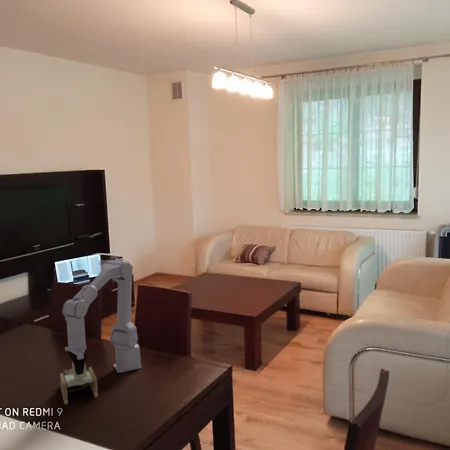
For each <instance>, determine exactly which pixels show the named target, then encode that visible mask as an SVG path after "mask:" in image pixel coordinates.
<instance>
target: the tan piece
mask: <svg viewBox="0 0 450 450" xmlns="http://www.w3.org/2000/svg"><path fill="white" fill-rule="evenodd" d="M88 371H89V372H90V374H91V376H92V379H93V382H89V386H90V389H91V391H92V393H93V396H94V398H98V397H99V393H98V389H99V388H98V378H97V376H96V374H95V373H94V370H93V368H92V366H90V367H88ZM59 381H60V382H59V383H60V392H61V396H62V399H63V403H64V405H68V404H69V401H68V387H67V385H66V382H65V379H64V375H63V372H61V373H59Z"/></svg>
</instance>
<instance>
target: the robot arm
mask: <svg viewBox="0 0 450 450" xmlns="http://www.w3.org/2000/svg"><path fill="white" fill-rule="evenodd" d="M112 279H113V280H114V281H115V282H116V283H117V305H116V307H117V308H116V323H114V324H113V325H112V326H111V333H110V336H109V340H110V343H111V344H113V347H114V349H115V363H114V364H113V367H114V368H115V371H116V372H117V373H119V374H120V373H124V372H128V371H134V370H138V369H142V364H141V363H142V362H141V361H142V360H141V349H140V345H139V343H138V340H139V337H138V336H139V335H138V332H137V327H136V325H135V324H133V322H131V321H132V292H133V291H132V288H133V287H132V286H133V284H132V283H133V265H132V264H131V263H130V262H129V261H122V260H121V261H119V260H111V259H107V260H105V262H104V263H103V264H102V265H101V270H100V272H99V273H98V274H97V275H96V277H95V278H94V279H93V281H91V283H90V284H85V285H83V286H82V287H81V289H80V291H78V292H77V293H76V294H75V296H73V298H72V299H67V300H66V301H65V302H64V303H63V306H62V309H61V313H62V314H63V316H64V319H65V322H66V328H67V330H66V332H67V344H68V345H67V346H65V347H64V350H65V352H67V353H68V354H69V357H70V360H71V362H72V361H73V363H74V367H75V371H76V374H77V375H80V374H83V371H84V365H85V363H86V361H87V359H88V356H89V355H88V353H85V351H86V350H87V343H86V329H85V316H86V314H87V313H88V310H89V307H90V305H91V304H92V302H94V300H95V299H96V298H97V297H98V291H99V290H101V288H102V287H103V286H104V285H106V284H107V283H108V282H109V281H110V280H112Z"/></svg>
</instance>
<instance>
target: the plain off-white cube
mask: <svg viewBox="0 0 450 450" xmlns="http://www.w3.org/2000/svg"><path fill="white" fill-rule="evenodd" d="M71 364H72V368H73V376H74V379H79V378H84V377H87V375H86V371H87V363H86V362H85V365H84V371H83V374H80V375H77V374H76V371H75V367H74V363H73V361H72V360H71Z"/></svg>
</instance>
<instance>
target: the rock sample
mask: <svg viewBox="0 0 450 450" xmlns="http://www.w3.org/2000/svg"><path fill="white" fill-rule="evenodd" d="M62 373H63V375H69V374H73V367H72V368H70V369H64V371H62ZM87 384H88V383H84V384H80V385H76V386H77V387H81V386H86V385H87Z"/></svg>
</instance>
